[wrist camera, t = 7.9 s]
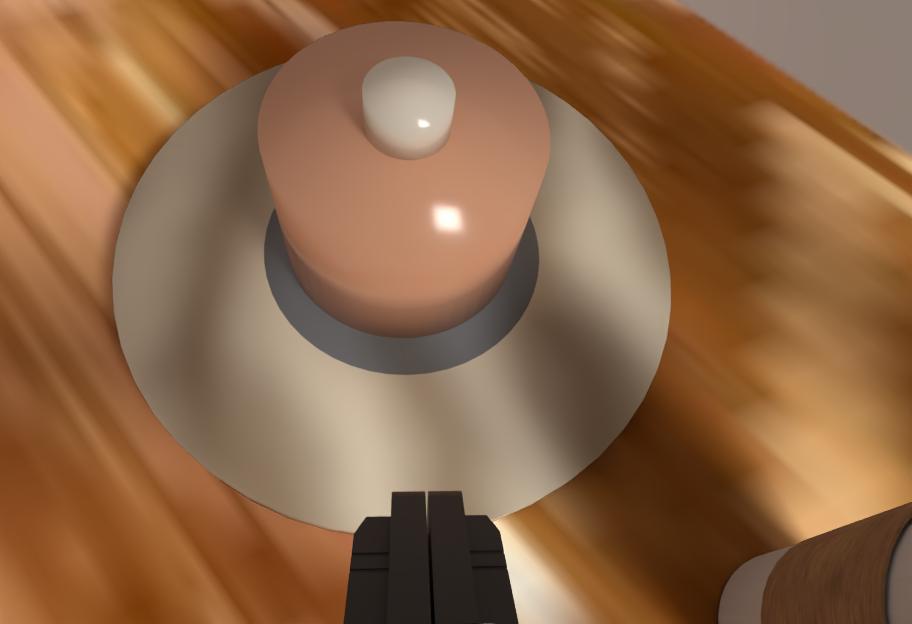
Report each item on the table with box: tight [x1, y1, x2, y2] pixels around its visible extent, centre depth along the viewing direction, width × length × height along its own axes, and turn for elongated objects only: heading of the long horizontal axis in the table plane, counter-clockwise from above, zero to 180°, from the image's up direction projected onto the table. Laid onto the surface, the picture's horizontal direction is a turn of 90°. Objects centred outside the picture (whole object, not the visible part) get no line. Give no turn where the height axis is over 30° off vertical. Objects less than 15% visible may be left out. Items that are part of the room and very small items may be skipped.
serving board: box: [112, 63, 671, 534], centre depth 29 cm, size 24×24×2 cm
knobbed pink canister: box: [257, 21, 551, 338], centre depth 24 cm, size 10×10×9 cm
